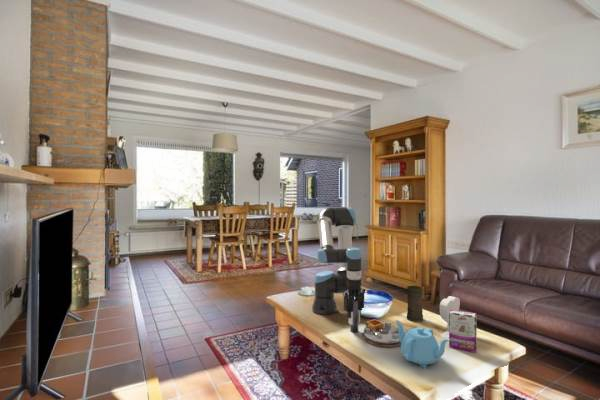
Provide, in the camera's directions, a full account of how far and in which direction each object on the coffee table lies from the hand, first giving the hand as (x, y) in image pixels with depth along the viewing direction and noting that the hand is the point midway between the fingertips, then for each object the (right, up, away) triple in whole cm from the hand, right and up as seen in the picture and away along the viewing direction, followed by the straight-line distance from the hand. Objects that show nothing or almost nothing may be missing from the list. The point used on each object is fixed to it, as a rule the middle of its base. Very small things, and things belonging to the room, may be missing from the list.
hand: (354, 323), depth 170 cm
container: (+37, -4, +16) cm, 40 cm away
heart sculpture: (+48, -4, -3) cm, 48 cm away
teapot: (+23, -5, -30) cm, 39 cm away
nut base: (+13, -4, -9) cm, 16 cm away
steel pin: (0, -4, 0) cm, 4 cm away
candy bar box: (+47, -5, -19) cm, 51 cm away
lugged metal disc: (+13, -3, -9) cm, 16 cm away
